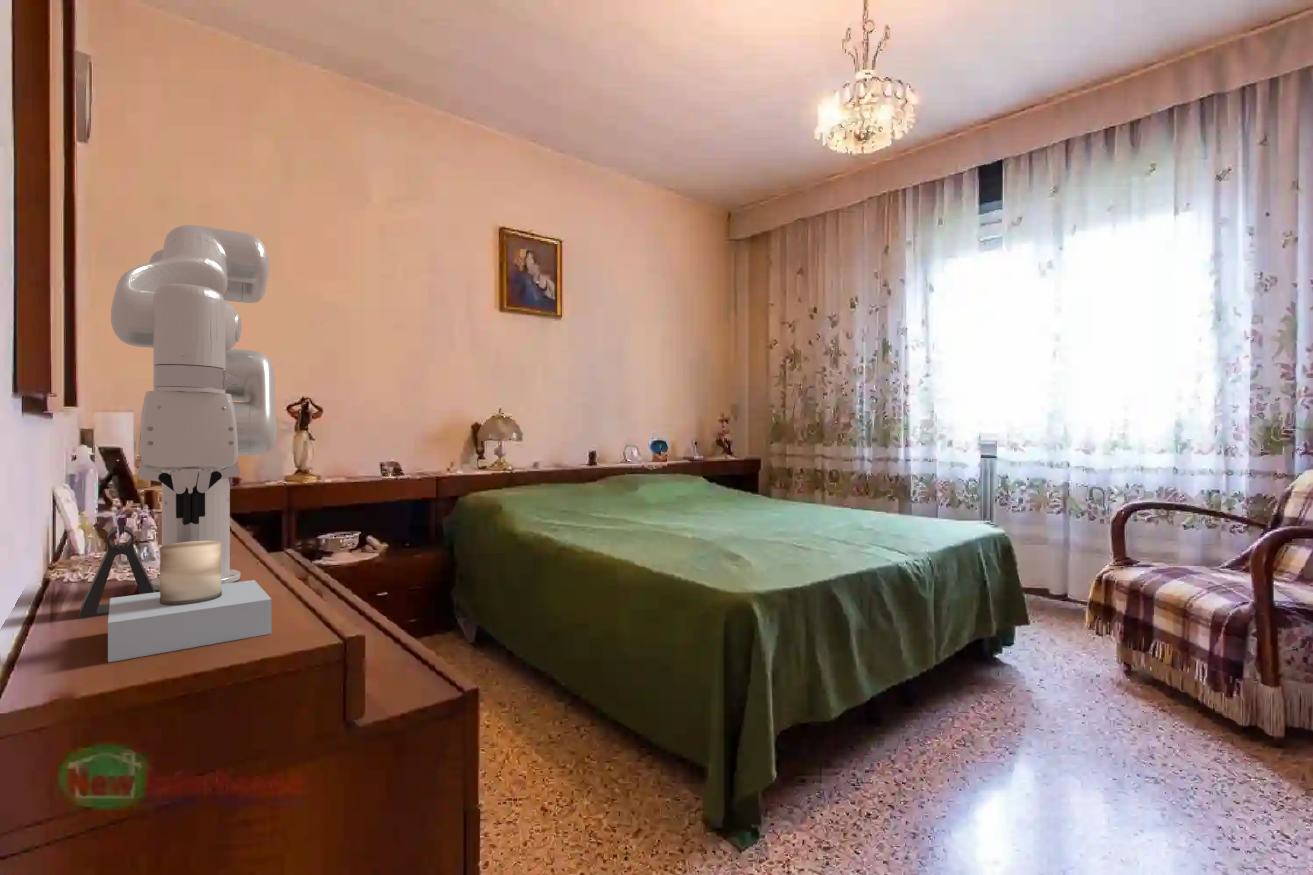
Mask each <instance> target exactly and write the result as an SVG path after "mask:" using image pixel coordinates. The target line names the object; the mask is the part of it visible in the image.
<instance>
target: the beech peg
mask: <svg viewBox="0 0 1313 875" xmlns="http://www.w3.org/2000/svg"><path fill="white" fill-rule="evenodd" d="M159 577H160V591H159V592H160V604H163V605H187V604H195V603H201V602H206V601H210V600H214V599H216V598H219V597H221V596H222V591H221V542H220V541H191V542H181V543H174V544H168V545H164V546H162V545H161V546H159Z"/></svg>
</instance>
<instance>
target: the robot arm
mask: <svg viewBox="0 0 1313 875" xmlns="http://www.w3.org/2000/svg"><path fill="white" fill-rule="evenodd" d="M269 274H270V259H269V253H268V251H267V248H266V246H265V245H264V243H263V242H262V240H261V239H260V238H259V237H258V236H255V235H253V234H251V233H248V232H240V231H237V230H236V231H235V230H230V229H224V228H223V229H222V228H216V227H211V226H210V227H209V226H204V225H197V224H186V225H185V224H184V225H180V226H177V227H175V228H173V229H171V230H170V231H169V232H168V233H167V235H166V237H165V239H164V243H163V248H162V249H160V250H157V251H154V253H153V254H152V255H151V256H150V259H149V263H145V264H142V265H139V266H136V267H134V268H131V269H129V270H127V271H126V272H124V273H123V274H122V275H121V276H120V278H119V280H117V284H116V285H115V286H116V287H115V292H114V294H113V298H112V302H111V308H110V322H111V323H110V324H111V327H112V330H113V332H114V334H115V336H116V337H117V338H118V339H119V340H120V341H121V342H122V343H124V344H126V345H129V346H133V347H139V348H151V349H152V348H153V361H152V364H153V375H152V376H153V377H152V378H153V383H152V384H153V385H152V386H153V390H147V391H146V392H145V394H144V398H143V403H142V408H141V416H140V428H139V429H140V430H139V444H138V445H139V448H138V449H139V451H138V453H139V454H138V455H139V461H140V463H139V467H138V470H137V474H136V476H137V477H138V479H140V480H146V481H152V482H158V483H159V482H160V483H161V546H164V545H168V544H174V543H181V542H191V541H220V542H221V584H226V583H234V582H238V580H240V578H241V572H240V570H237V569H231V567H230V566H231V564H230V563H231V561H230V560H231V558H230V557H231V552H230V551H231V544H230V542H231V539H230V538H231V537H230V535H231V534H230V533H231V532H230V530H231V529H230V527H231V526H230V525H231V523H230V522H231V520H230V519H231V518H230V516H231V512H230V511H231V510H230V509H231V507H230V505H231V504H230V503H231V502H230V501H231V500H230V498H231V497H230V496H231V495H230V494H231V493H230V492H231V486H230V485H231V483H230V479H229V478H232V477H237V476H238V475H240V474H241V470H240V466H239V463H238V462H239V461H238V458H239V456H256V455H257V456H259V455H264V454H268V453H269V452H271V451H273V449H274V447H275V446H276V444H277V437H278V435H277V434H278V429H277V427H278V424H277V407H276V406H277V405H276V404H277V403H276V402H277V400H276V383H275V382H276V381H275V374H274V373H275V372H274V367H273V364H272V362H271V360H270V358H269V356H267V355H266V354H265V353H263V352H260V351H257V350H253V349H252V350H251V349H240V348H239V349H238V348H236V349H235V348H234V347H235V346H236V344H237V343H238V342H240V340H241V337H242V319H241V316H240V314H239V313H238V312H236V310H235V308H234V307H233V305H232V304H231V303H229V302H235V303H244V304H253V303H254V304H255V303H259V302H260V301H261V300H263V298H264V296H265V294H266V291H267V283H268V279H269ZM158 470H159V471H158ZM150 581H151V583H152V585H153V587H154V589H155V591H157V592H160V576H158V577H155V578H153V579H152V580H150Z"/></svg>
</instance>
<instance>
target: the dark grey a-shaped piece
mask: <svg viewBox="0 0 1313 875" xmlns="http://www.w3.org/2000/svg"><path fill="white" fill-rule="evenodd" d="M123 532H124V533H126V534H128V535H129V536H130V537H129V539H128V540H127V541H125V543H121V544H120V543H117V544H116V542H114V541H113V540H112V537H113V535H115V534H117V533H118V526H117V525H116V526H113V527H112V528H111V529H110V530H109V531H108V533H107V539H106V544H107V548H106V551H105V553H104V555H103V557H102V560H101V561H100V564H99V566H98V568H97V570H96V573H95V575H94V576H93V580H92V581H91V584H90V586H89V588H88V590H87V592H86V594H85V597H84V599H83V601H82V604H81V605H80V609H79V613H78V618H79V619H81V618H82V619H88V618H96V617H101V616H102V617H103V616H109V605H110V603H105V604H104V603H102V604H100V602H101V600H102V596H103V593H104V591H105V588H106V584H107V581H108V578H109V575H110V572H111V569H112V566H113V563H114V561H115V558H116V557H117V556H119V555H125V556H126V557H127V560H128V563H129V566H130V568H131V571H132V575H133V578H134V580H135V583H136V585H137V588H138V591H139V594H147V593H155V592H157V590H155V589H154V587H153V585H152V583H151V581H152V580H151V579H150V577H149V575H148V573H147V571H146V570H145V567H144V564H143V562H142V561H141V559H140V557H139V554H138V553H137V551H136V548H135V547H134V543H135V537H134V532H133V529H132V528H131V527H129V526H127V525H124V526H123Z"/></svg>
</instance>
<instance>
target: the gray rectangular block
mask: <svg viewBox="0 0 1313 875" xmlns="http://www.w3.org/2000/svg"><path fill="white" fill-rule="evenodd" d="M221 591H222V596H221V597H219V598H216V599H214V600H210V601H206V602H201V603H195V604H187V605H163V604H160V591H156V592H155V593H147V594H140V593H139V594H133V595H131V594H130V595H126V596H125V595H124V596H117V597H110V598H109V604H110V605H109V615H108V618H107V662H108V663H113V662H114V663H115V662H117V661H118V662H119V661H124V660H130V659H135V658H141V657H147V656H151V655H158V654H164V653H170V652H175V651H180V650H181V651H182V650H186V649H193V648H197V647H203V646H209V645H215V644H221V643H227V642H233V641H238V640H243V639H251V638H255V637H260V636H266V635H272V628H273V626H272V622H273V620H272V616H273V615H272V609H273V608H272V604H273V601H272V600H273V599H272V597H271V596H269V595H268V593H267V592H266V591H265V590H264V589H263V588H262V587H261V585H260V584H259V583H258V582H257V581H256V580H255V579H252V580H243V581H242V580H241V581H235V582H232V583H226V584H221Z"/></svg>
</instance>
